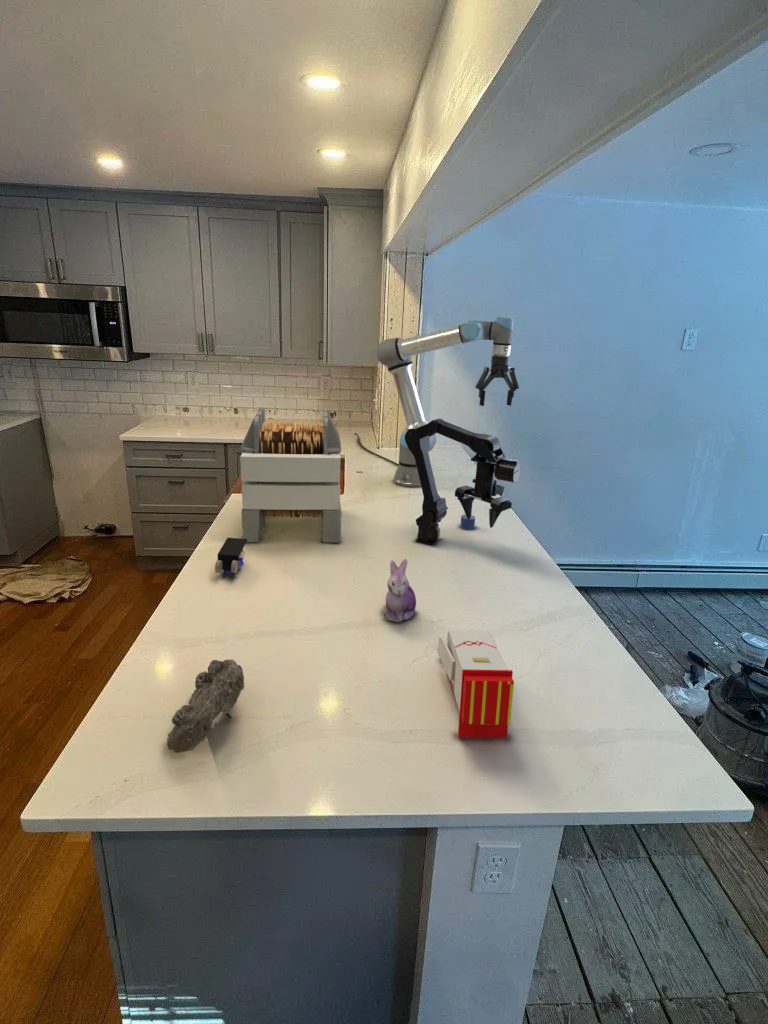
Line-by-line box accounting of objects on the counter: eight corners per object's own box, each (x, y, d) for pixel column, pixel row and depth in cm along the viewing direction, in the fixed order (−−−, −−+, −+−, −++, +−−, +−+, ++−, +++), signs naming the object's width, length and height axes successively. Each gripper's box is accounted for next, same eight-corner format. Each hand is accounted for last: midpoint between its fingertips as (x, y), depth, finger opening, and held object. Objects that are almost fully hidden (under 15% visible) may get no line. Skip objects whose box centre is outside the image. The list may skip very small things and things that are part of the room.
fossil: (192, 660, 117) (244, 628, 112) (224, 691, 120) (276, 661, 115) (142, 746, 98) (202, 712, 93) (182, 779, 101) (242, 748, 96)
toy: (488, 613, 130) (523, 677, 101) (484, 667, 133) (517, 744, 104) (435, 612, 130) (455, 676, 101) (432, 666, 133) (451, 743, 103)
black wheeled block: (238, 584, 162) (249, 557, 175) (236, 562, 158) (247, 536, 172) (215, 584, 161) (227, 556, 175) (212, 561, 158) (225, 535, 171)
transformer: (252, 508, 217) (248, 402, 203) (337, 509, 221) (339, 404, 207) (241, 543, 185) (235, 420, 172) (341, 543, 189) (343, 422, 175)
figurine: (392, 627, 141) (395, 572, 136) (374, 608, 149) (376, 556, 144) (425, 619, 145) (429, 566, 140) (405, 601, 154) (408, 550, 149)
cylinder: (468, 531, 205) (469, 520, 204) (457, 526, 209) (458, 516, 207) (477, 527, 209) (478, 517, 208) (465, 523, 212) (466, 513, 211)
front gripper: (524, 479, 176) (518, 526, 181) (477, 466, 189) (473, 510, 194) (503, 485, 169) (497, 534, 174) (455, 471, 181) (451, 516, 187)
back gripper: (479, 355, 234) (474, 407, 242) (530, 356, 243) (524, 406, 250) (470, 354, 241) (466, 404, 248) (521, 355, 249) (515, 403, 256)
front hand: (479, 523), depth 182 cm, fingers open, 9 cm apart
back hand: (495, 405), depth 249 cm, fingers open, 13 cm apart
